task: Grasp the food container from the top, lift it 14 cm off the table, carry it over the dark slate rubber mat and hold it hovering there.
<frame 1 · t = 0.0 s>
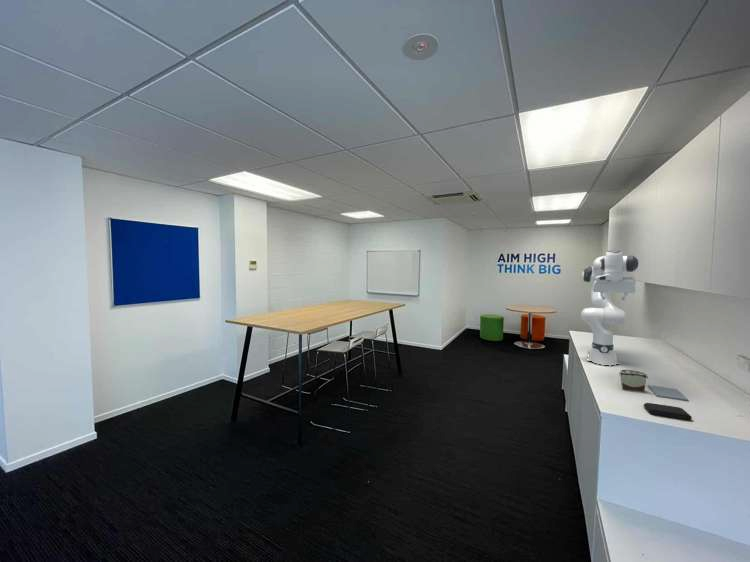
hand: (613, 299, 179), 48 cm above the table, tool pointing down, fingers open, 8 cm apart
carrying case or bag: (665, 414, 137), on the table
food container: (631, 389, 164), on the table
slate mat: (666, 393, 158), on the table
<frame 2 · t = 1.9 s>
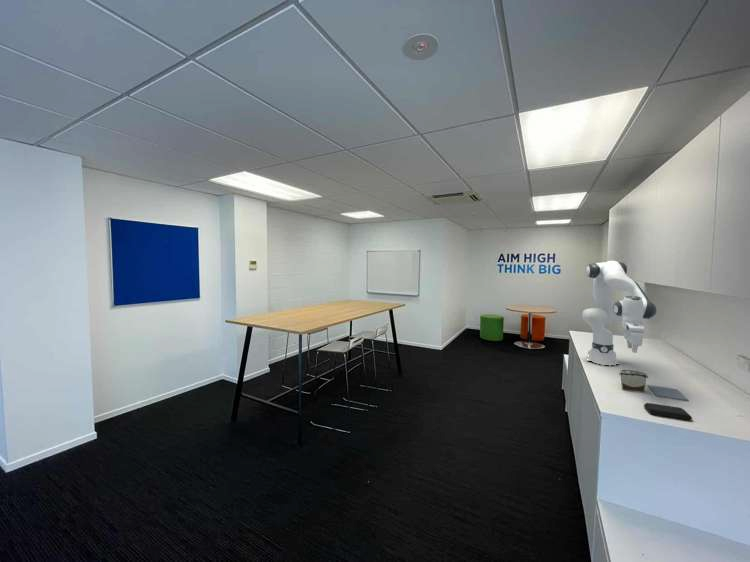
hand: (632, 350, 163), 22 cm above the table, tool pointing down, fingers open, 8 cm apart
nothing on the table moved.
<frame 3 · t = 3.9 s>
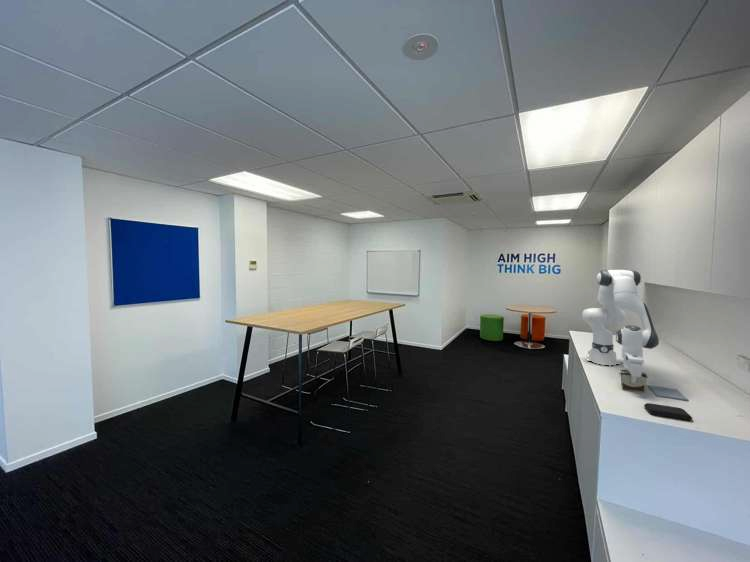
hand: (631, 379, 164), 5 cm above the table, tool pointing down, fingers open, 6 cm apart
food container: (631, 389, 164), on the table, touching gripper
everything else where it was.
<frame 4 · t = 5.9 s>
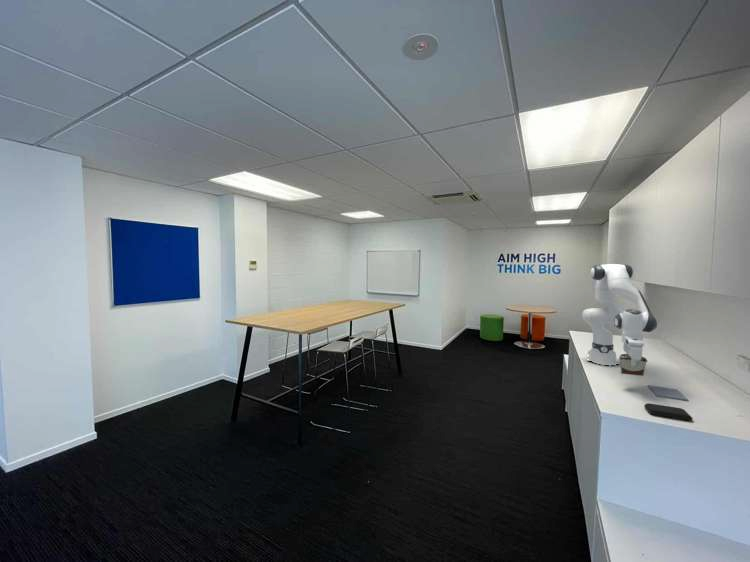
hand: (631, 363, 164), 14 cm above the table, tool pointing down, fingers closed on food container, 5 cm apart
food container: (630, 373, 165), point 8 cm above the table, touching gripper
everything else where it was.
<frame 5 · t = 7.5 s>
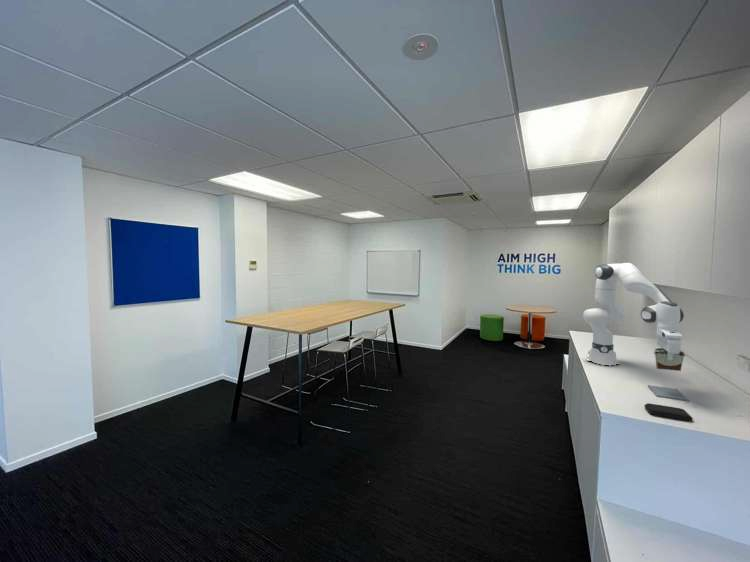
hand: (667, 358, 157), 19 cm above the table, tool pointing down, fingers closed on food container, 5 cm apart
food container: (666, 368, 158), point 13 cm above the table, touching gripper
everything else where it was.
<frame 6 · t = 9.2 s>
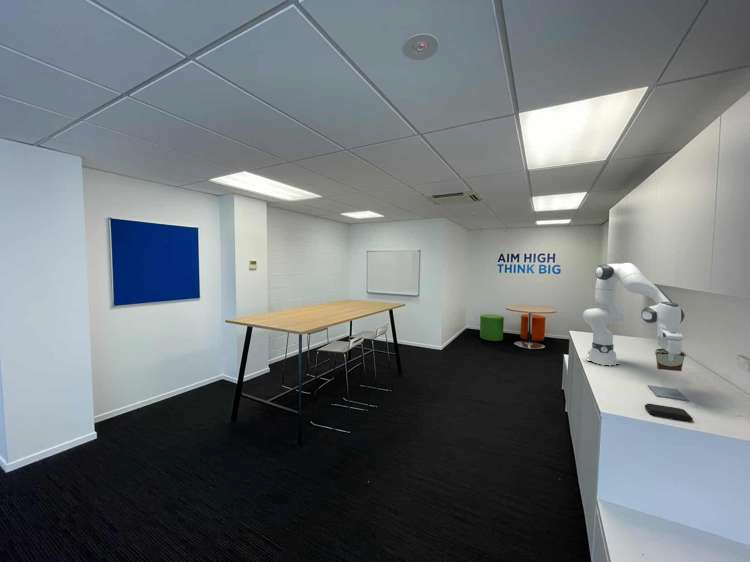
hand: (667, 358, 157), 19 cm above the table, tool pointing down, fingers closed on food container, 5 cm apart
food container: (666, 368, 158), point 13 cm above the table, touching gripper
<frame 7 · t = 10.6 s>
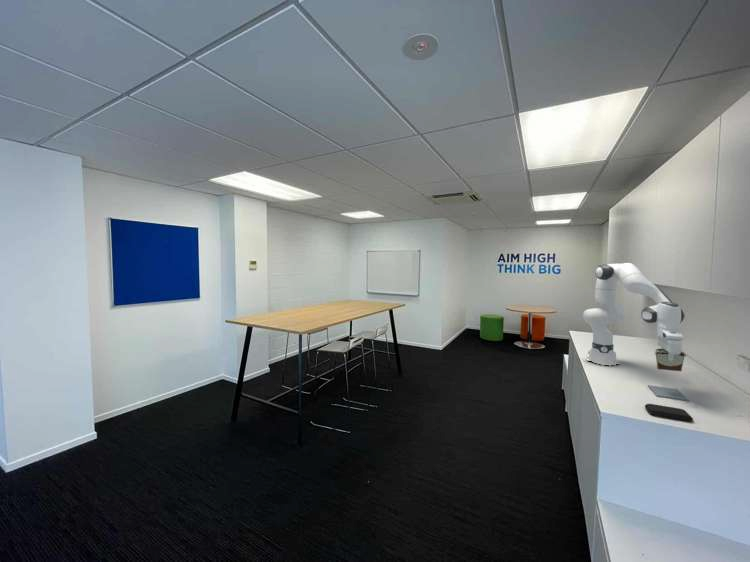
hand: (667, 358, 157), 19 cm above the table, tool pointing down, fingers closed on food container, 5 cm apart
food container: (666, 368, 158), point 13 cm above the table, touching gripper
at the end: the gripper is holding food container; food container point 13.2 cm above the table; food container 1.1 cm from the slate mat (horizontally) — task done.
